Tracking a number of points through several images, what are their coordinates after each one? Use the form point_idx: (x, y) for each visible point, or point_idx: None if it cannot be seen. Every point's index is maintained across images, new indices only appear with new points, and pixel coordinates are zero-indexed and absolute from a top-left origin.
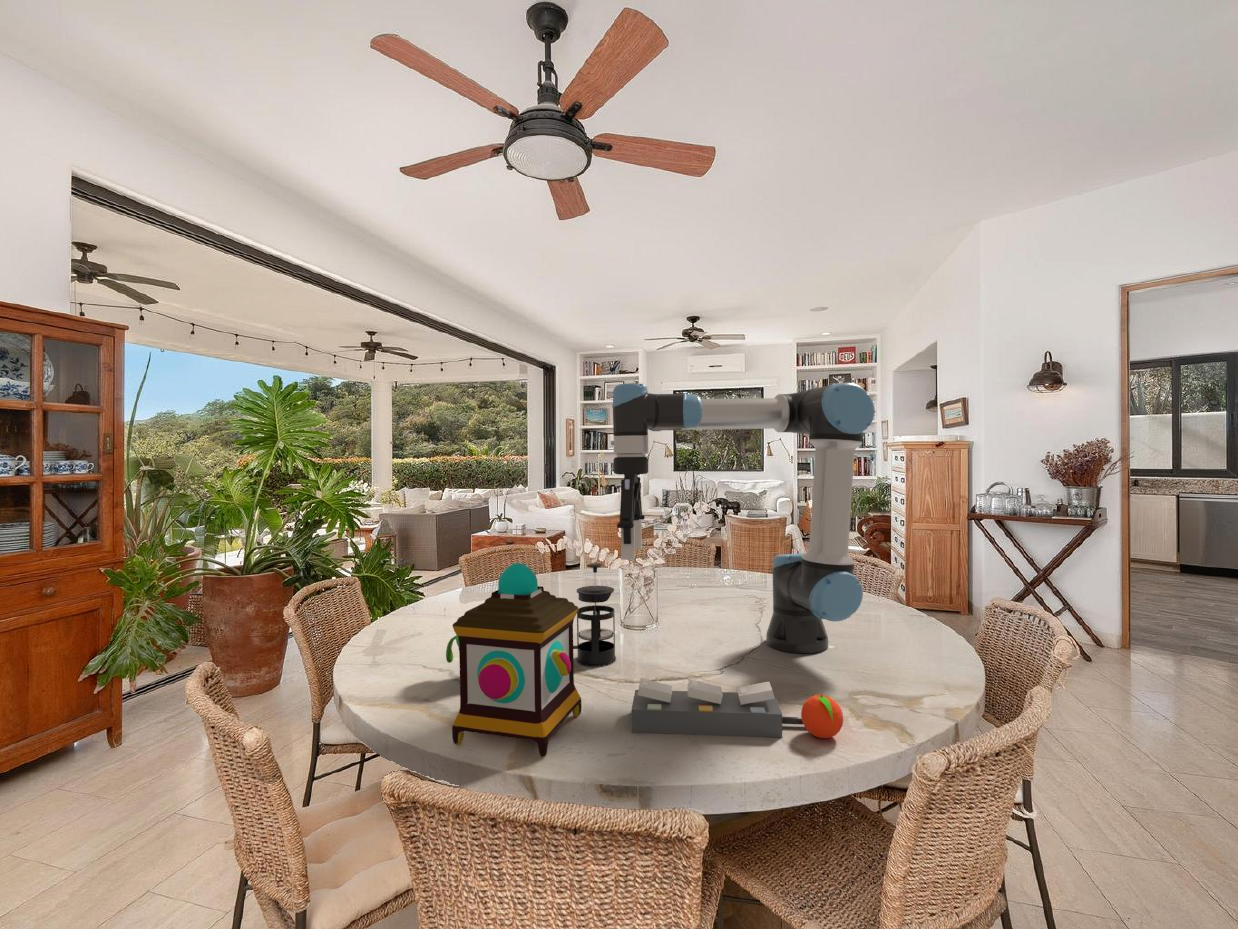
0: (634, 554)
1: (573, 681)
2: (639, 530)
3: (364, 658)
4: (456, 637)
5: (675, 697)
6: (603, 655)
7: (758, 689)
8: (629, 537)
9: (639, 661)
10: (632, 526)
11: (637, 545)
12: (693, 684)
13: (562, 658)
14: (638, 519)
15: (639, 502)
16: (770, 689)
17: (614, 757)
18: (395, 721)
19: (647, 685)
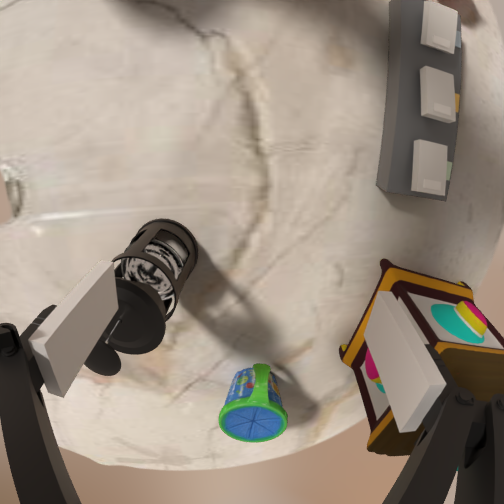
0: (394, 302)
1: (401, 287)
2: (74, 317)
3: (198, 462)
4: (267, 440)
5: (417, 134)
6: (188, 243)
7: (448, 24)
8: (442, 367)
9: (165, 177)
10: (471, 393)
11: (108, 286)
12: (445, 111)
13: (485, 319)
14: (32, 357)
15: (20, 459)
16: (455, 12)
17: (474, 215)
18: (357, 412)
19: (440, 182)
